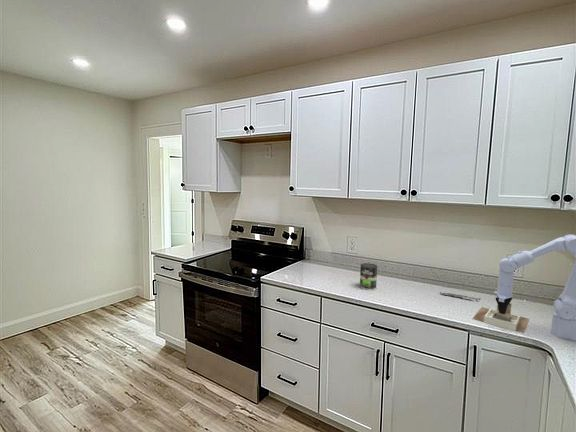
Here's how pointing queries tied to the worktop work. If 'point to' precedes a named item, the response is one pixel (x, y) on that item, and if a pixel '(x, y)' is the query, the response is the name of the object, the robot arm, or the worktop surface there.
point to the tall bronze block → (507, 314)
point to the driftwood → (460, 296)
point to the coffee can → (368, 276)
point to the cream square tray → (502, 320)
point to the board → (480, 317)
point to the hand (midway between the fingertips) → (502, 312)
